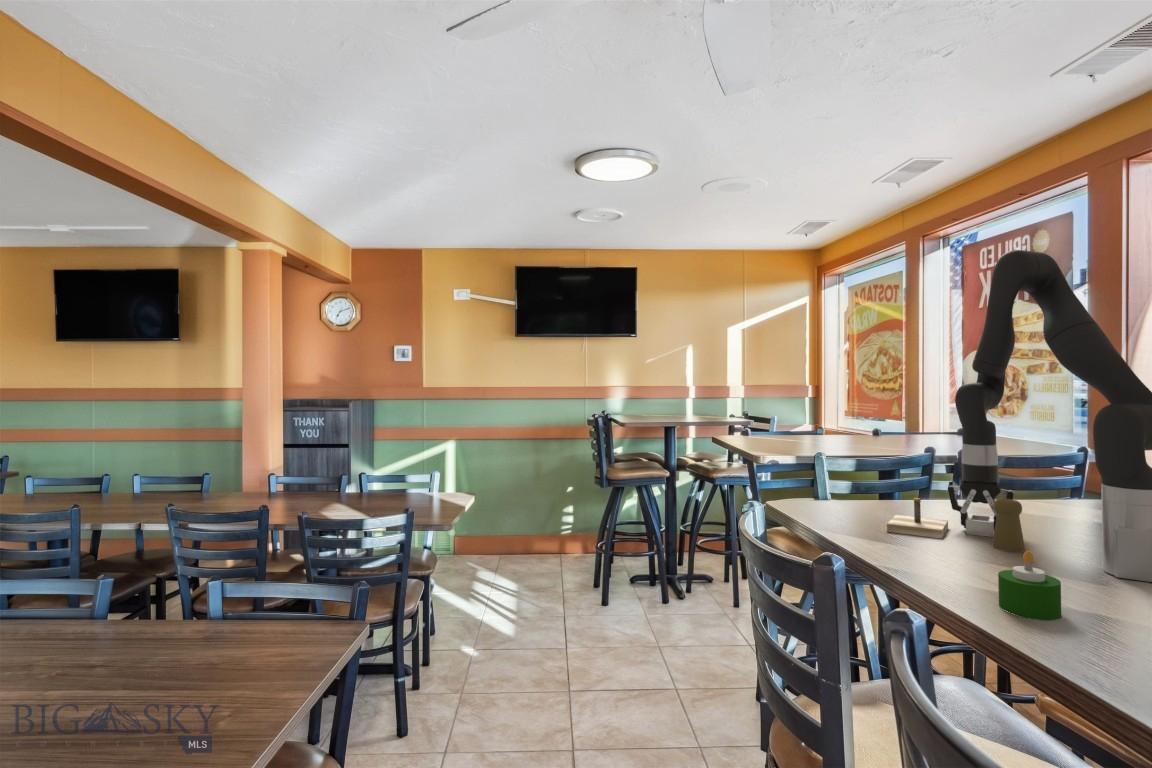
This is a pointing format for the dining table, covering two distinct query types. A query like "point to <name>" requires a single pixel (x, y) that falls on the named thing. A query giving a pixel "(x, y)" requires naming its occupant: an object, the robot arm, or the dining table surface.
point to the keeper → (917, 524)
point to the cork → (1008, 526)
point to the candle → (1029, 591)
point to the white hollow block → (980, 525)
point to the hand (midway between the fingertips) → (980, 529)
